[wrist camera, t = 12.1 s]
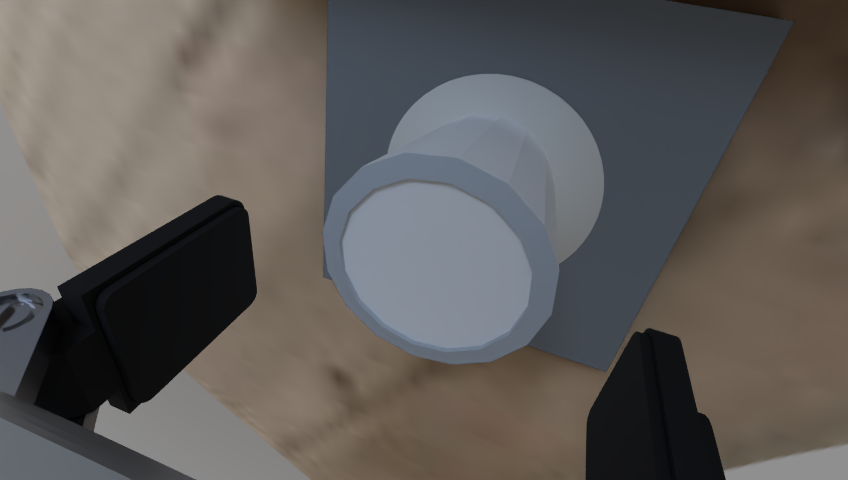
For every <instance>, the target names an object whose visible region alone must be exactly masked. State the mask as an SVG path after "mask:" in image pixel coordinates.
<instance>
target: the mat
mask: <svg viewBox="0 0 848 480" xmlns="http://www.w3.org/2000/svg"><path fill="white" fill-rule="evenodd" d="M794 22H795V21H790V20H784V19H778V18H771V17H765V16H759V15H753V14H747V13H741V12H734V11H728V10H722V9H716V8H710V7H704V6H697V5H691V4H685V3H679V2H673V1H667V0H328V28H327V87H326V146H325V206H324V225H325V222H326V219H327V215H328V212H329V208H330V205H331V202H332V198H333V196H334V195H335V194H336V193H337V192H338V191H339V190H340V189H341V188H342V186H343V185H344V184H345V183H346V182H347V181H348V180H349V179H350V178H351V177H352V176H353V175H354V174H355V173H356V172H357V171H358V170H359V169H360V168H361V167H363V166H364V165H366V164H368V163H370V162H372V161H374V160H376V159H378V158H380V157H382V156H384V155H386V154H388V153H390V152H392V151H394V150H396V149H398V148H400V147H402V146H403V145H405V144H407V143H409V142H411V141H413V140H415V139H417V138H419V137H421V136H423V135H425V134H427V133H429V132H431V131H433V130H435V129H437V128H439V127H441V126H443V125H444V124H446V123H449V122H452V121H455V120H458V119H460V118H463V117H466V116H469V115H472V114H477V115H491V116H502V117H504V118H506V119H508V120H510V121H512V122H514V123H516V124H518V125H520V126H521V127H523V128H525V129H527V130H528V131H529V132H530V133H531V134H532V136H533V137H534V138H535V139H536V140H537V141H538V143H539V144H540V145H541V146H542V147H543V149H544V150H545V151H546V153H547V157H548V160H549V164H550V167H551V171H552V174H553V177H554V192H555V209H556V226H557V244H558V261H559V276H558V282H557V287H556V293H555V299H554V304H553V310H552V315H551V316H550V317H549V318H548V320H547V321H546V322H545V323H544V325H543V326H542V327H541V328H540V330H539V331H538V332H537V333H536V335H535V336H534V337H533V338H532V339H531V341H530V342H529V343H528V344H527V346H530V347H533V348H536V349H539V350H542V351H545V352H548V353H551V354H554V355H557V356H560V357H563V358H566V359H569V360H572V361H575V362H578V363H581V364H584V365H587V366H590V367H593V368H596V369H599V370H602V371H605V372H606V371H607V370H608V368H609V366H610V364H611V362H612V360H613V358H614V356H615V355H616V353H617V351H618V349H619V347H620V345H621V343H622V342H623V340H624V338H625V336H626V334H627V332H628V330H629V329H630V327H631V325H632V323H633V321H634V319H635V317H636V316H637V314H638V312H639V310H640V308H641V306H642V304H643V303H644V301H645V299H646V297H647V295H648V293H649V291H650V289H651V288H652V286H653V284H654V282H655V280H656V278H657V276H658V275H659V273H660V271H661V269H662V267H663V265H664V263H665V262H666V260H667V258H668V256H669V254H670V252H671V250H672V249H673V247H674V245H675V243H676V241H677V239H678V237H679V236H680V234H681V232H682V230H683V228H684V226H685V224H686V223H687V221H688V219H689V217H690V215H691V213H692V211H693V209H694V208H695V206H696V204H697V202H698V200H699V198H700V196H701V195H702V193H703V191H704V189H705V187H706V185H707V183H708V182H709V180H710V178H711V176H712V174H713V172H714V170H715V169H716V167H717V165H718V163H719V161H720V159H721V157H722V156H723V154H724V152H725V150H726V148H727V146H728V144H729V142H730V141H731V139H732V137H733V135H734V133H735V131H736V129H737V128H738V126H739V124H740V122H741V120H742V118H743V116H744V115H745V113H746V111H747V109H748V107H749V105H750V103H751V102H752V100H753V98H754V96H755V94H756V92H757V90H758V89H759V87H760V85H761V83H762V81H763V79H764V77H765V76H766V74H767V72H768V70H769V68H770V66H771V64H772V62H773V61H774V59H775V57H776V55H777V53H778V51H779V49H780V48H781V46H782V44H783V42H784V40H785V38H786V36H787V35H788V33H789V31H790V29H791V27H792V25H793V23H794ZM323 277H324V278H327V279H330V280H332V278H331V276H330V274H329V272H328V270H327V262H326V255H325V248H324V265H323Z"/></svg>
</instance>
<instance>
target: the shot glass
mask: <svg viewBox="0 0 848 480" xmlns="http://www.w3.org/2000/svg"><path fill="white" fill-rule="evenodd" d="M322 234H323V241H324V248H325V255H326V262H327V270H328V272H329V274H330V276H331V278H332V280H333V282H334V283H335V285H336V287H337V289H338V291H339V293H340V295H341V297H342V299H343V300H344V302H345V304H346V306H347V307H348V308H349V309H350V310H351V311H352V312H353V313H354V314H355V315H356V316H357V317H358V318H359V319H360V320H361V321H362V322H363V323H364V324H365V325H366V326H367V327H368V328H369V329H370V330H371V331H372V332H373V333H374V334H375V335H377V336H379V337H380V338H382V339H384V340H386V341H388V342H389V343H391V344H393V345H395V346H396V347H398V348H400V349H402V350H403V351H405V352H407V353H409V354H411V355H414V356H418V357H422V358H426V359H430V360H434V361H439V362H443V363H447V364H451V365H452V364H467V363H481V362H492V361H494V360H496V359H498V358H501V357H503V356H505V355H507V354H509V353H511V352H513V351H516V350H518V349H520V348H522V347H524V346H526V345H527V344H528V343H529V342H530V341H531V339H532V338H533V337H534V336H535V335H536V333H537V332H538V331H539V330H540V328H541V327H542V326H543V325H544V323H545V322H546V321H547V320H548V318H549V317H550V316H551V315H552V310H553V304H554V299H555V293H556V287H557V282H558V276H559V261H558V244H557V226H556V209H555V192H554V177H553V174H552V171H551V167H550V164H549V160H548V157H547V153H546V151H545V150H544V149H543V147H542V146H541V145H540V144H539V143H538V141H537V140H536V139H535V138H534V137H533V136H532V134H531V133H530V132H529V131H528V130H527V129H525V128H523V127H521V126H520V125H518V124H516V123H514V122H512V121H510V120H508V119H506V118H504V117H502V116H491V115H477V114H472V115H469V116H466V117H463V118H460V119H458V120H455V121H452V122H449V123H446V124H444V125H443V126H441V127H439V128H437V129H435V130H433V131H431V132H429V133H427V134H425V135H423V136H421V137H419V138H417V139H415V140H413V141H411V142H409V143H407V144H405V145H403V146H402V147H400V148H398V149H396V150H394V151H392V152H390V153H388V154H386V155H384V156H382V157H380V158H378V159H376V160H374V161H372V162H370V163H368V164H366V165H364V166H363V167H361V168H360V169H359V170H358V171H357V172H356V173H355V174H354V175H353V176H352V177H351V178H350V179H349V180H348V181H347V182H346V183H345V184H344V185H343V186H342V188H341V189H340V190H339V191H338V192H337V193H336V194H335V195H334V196H333V198H332V202H331V205H330V208H329V212H328V215H327V219H326V222H325V225H324V229H323V232H322Z"/></svg>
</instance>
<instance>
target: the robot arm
mask: <svg viewBox="0 0 848 480" xmlns="http://www.w3.org/2000/svg"><path fill="white" fill-rule="evenodd" d="M58 290H59V292H60V294H61V296H62V298H60V299H58V300H57V301H55V302H54V301H53V299H52V297H51V296H50V294H48V293H47V292H45V291H43V290H39V289H32V288H26V289H14V290H9V291H3V292H0V480H196V479H193V478H191V477H189V476H187V475H185V474H183V473H181V472H179V471H176V470H174V469H172V468H170V467H168V466H166V465H164V464H161V463H159V462H157V461H155V460H153V459H151V458H149V457H146V456H144V455H142V454H140V453H138V452H136V451H134V450H131V449H129V448H127V447H125V446H123V445H121V444H118V443H116V442H114V441H112V440H110V439H108V438H105V437H103V436H101V435H99V434H97V433H95V432H94V428H95V423H96V419H97V415H98V411H99V406H100V405H102V404H103V403H104V402H105V401H106V400H107V399H108V401H109V403H110V405H111V406H113V407H116V408H118V409H120V410H122V411H125V412H127V413H129V414H130V413H131V412H132V411H133V410H134V409H135V408H136V407H137V406H138V405H140V404H141V403H144V402H147V401H149V400H151V399H152V398H153V397H154V396H155V395H156V394H157V393H158V392H159V391H160V390H161V389H162V388H164V387H165V386H166V385H167V384H168V383H169V382H170V381H171V380H172V379H173V378H174V377H175V376H176V375H177V374H178V373H179V372H180V371H181V370H183V369H184V368H185V367H186V366H187V365H188V364H189V363H190V362H191V361H192V360H193V359H194V358H195V357H196V356H197V355H198V354H199V353H200V352H201V351H203V350H204V349H205V348H206V347H207V346H208V345H209V344H210V343H211V342H212V341H213V340H214V339H215V338H216V337H217V336H218V335H219V334H220V333H221V332H222V331H224V330H225V329H226V328H227V327H228V326H229V325H230V324H231V323H232V322H233V321H234V320H235V319H236V318H237V317H238V316H239V315H240V314H241V313H242V312H243V311H245V310H246V309H247V308H248V307H249V306H250V305H251V304H252V303H253V301H254V299H255V297H256V294H257V286H256V278H255V269H254V260H253V251H252V242H251V233H250V225H249V216H248V212H247V210H245V209H244V206H243V204H242V203H241V202H239V201H237V200H234V199H230V198H227V197H224V196H221V195H217V196H214V197H212V198H210V199H208V200H207V201H205V202H203V203H202V204H200V205H198V206H196V207H195V208H193V209H191V210H189V211H188V212H186V213H184V214H182V215H181V216H179V217H177V218H176V219H174V220H172V221H170V222H169V223H167V224H165V225H163V226H162V227H160V228H158V229H156V230H155V231H153V232H151V233H150V234H148V235H146V236H144V237H143V238H141V239H139V240H137V241H136V242H134V243H132V244H130V245H129V246H127V247H125V248H124V249H122V250H120V251H118V252H117V253H115V254H113V255H111V256H110V257H108V258H106V259H104V260H103V261H101V262H99V263H97V264H96V265H94V266H92V267H91V268H89V269H87V270H85V271H84V272H82V273H80V274H78V275H77V276H75V277H73V278H71V279H70V280H68V281H66V282H65V283H63V284H61V285H59V286H58ZM586 480H726V479H725V475H724V471H723V467H722V463H721V460H720V456H719V452H718V448H717V444H716V440H715V436H714V433H713V429H712V426H711V423H710V421H709V419H708V418H707V417H706V415H704V414H702V413H699V412H697V407H696V403H695V399H694V395H693V390H692V386H691V382H690V378H689V373H688V369H687V365H686V361H685V356H684V352H683V348H682V344H681V341H680V338H678V337H677V336H673V335H670V334H667V333H664V332H660V331H657V330H654V329H651V328H648V329H646V330H645V331H644V333H640V332H635V333H634V334H633V335H632V337H631V339H630V340H629V342H628V344H627V346H626V348H625V349H624V351H623V353H622V355H621V356H620V358H619V360H618V362H617V363H616V365H615V367H614V369H613V371H612V372H611V374H610V376H609V378H608V379H607V381H606V383H605V385H604V386H603V388H602V390H601V392H600V393H599V395H598V397H597V399H596V401H595V402H594V404H593V406H592V408H591V410H590V412H589V415H588V420H587V436H586Z"/></svg>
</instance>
